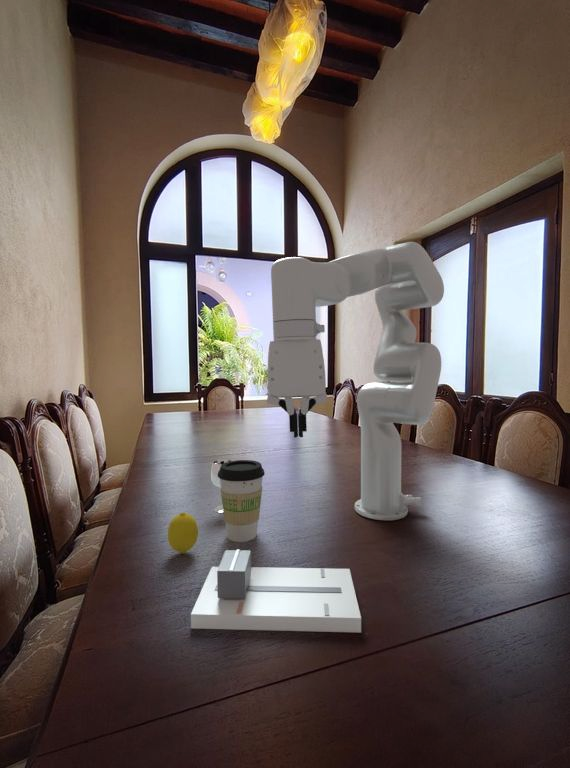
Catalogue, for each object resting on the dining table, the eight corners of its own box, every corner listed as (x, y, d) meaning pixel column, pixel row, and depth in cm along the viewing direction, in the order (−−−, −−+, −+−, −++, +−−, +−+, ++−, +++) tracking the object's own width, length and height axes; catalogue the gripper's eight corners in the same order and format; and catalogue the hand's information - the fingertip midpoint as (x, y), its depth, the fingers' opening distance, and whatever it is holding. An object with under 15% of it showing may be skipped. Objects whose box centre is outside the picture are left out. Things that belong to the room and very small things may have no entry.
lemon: (186, 543, 75) (186, 504, 74) (204, 552, 71) (203, 511, 71) (162, 554, 70) (161, 513, 70) (179, 564, 67) (178, 521, 66)
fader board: (349, 580, 61) (349, 568, 61) (361, 632, 49) (361, 617, 49) (212, 578, 62) (212, 565, 62) (191, 628, 50) (190, 613, 50)
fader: (250, 574, 59) (250, 549, 59) (245, 598, 53) (244, 570, 53) (226, 574, 59) (225, 549, 59) (217, 598, 53) (217, 570, 53)
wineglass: (230, 514, 89) (229, 465, 89) (207, 512, 90) (206, 464, 90) (237, 505, 95) (237, 459, 94) (216, 504, 96) (216, 458, 95)
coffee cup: (220, 549, 72) (219, 473, 71) (216, 528, 82) (215, 461, 81) (269, 542, 75) (269, 469, 74) (260, 522, 84) (259, 457, 84)
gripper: (335, 332, 68) (337, 430, 70) (254, 335, 69) (258, 432, 70) (340, 329, 61) (343, 439, 62) (249, 332, 61) (254, 442, 63)
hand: (298, 435), depth 66 cm, fingers closed
